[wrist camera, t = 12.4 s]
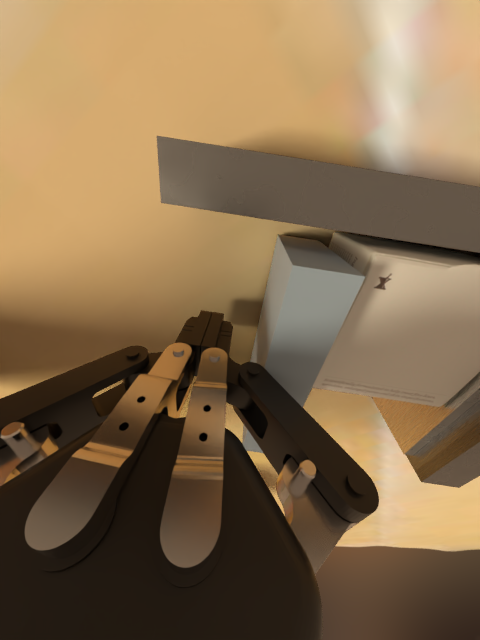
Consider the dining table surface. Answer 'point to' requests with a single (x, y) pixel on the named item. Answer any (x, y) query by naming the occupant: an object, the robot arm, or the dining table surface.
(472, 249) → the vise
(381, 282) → the small box
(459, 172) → the dining table surface
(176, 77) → the dining table surface
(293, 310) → the block
